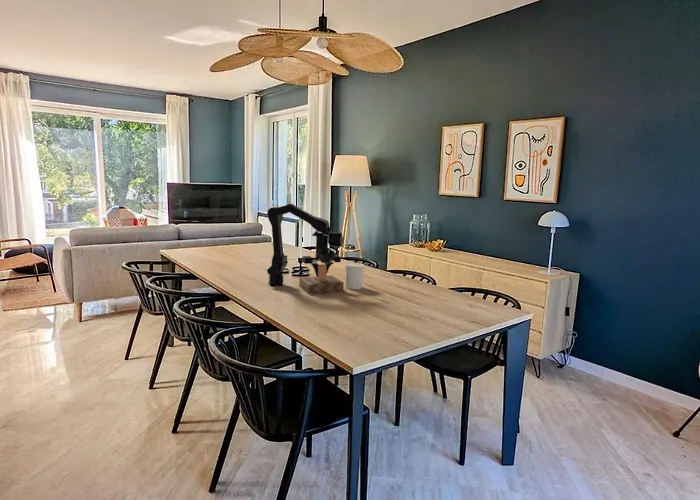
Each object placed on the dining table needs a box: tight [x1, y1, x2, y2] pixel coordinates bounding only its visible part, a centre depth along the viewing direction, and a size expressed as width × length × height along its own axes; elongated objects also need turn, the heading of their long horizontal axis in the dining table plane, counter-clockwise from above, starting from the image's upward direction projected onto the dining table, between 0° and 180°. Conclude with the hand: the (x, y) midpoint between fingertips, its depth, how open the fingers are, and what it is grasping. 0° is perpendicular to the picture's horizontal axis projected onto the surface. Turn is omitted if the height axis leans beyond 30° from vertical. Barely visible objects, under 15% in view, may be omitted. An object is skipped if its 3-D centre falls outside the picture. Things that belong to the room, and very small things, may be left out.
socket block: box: [298, 275, 345, 295], centre depth 219 cm, size 18×16×4 cm
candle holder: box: [344, 262, 365, 291], centre depth 223 cm, size 10×10×12 cm
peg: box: [315, 263, 327, 282], centre depth 218 cm, size 4×4×9 cm
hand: (321, 276), depth 218 cm, fingers closed on peg, 4 cm apart
